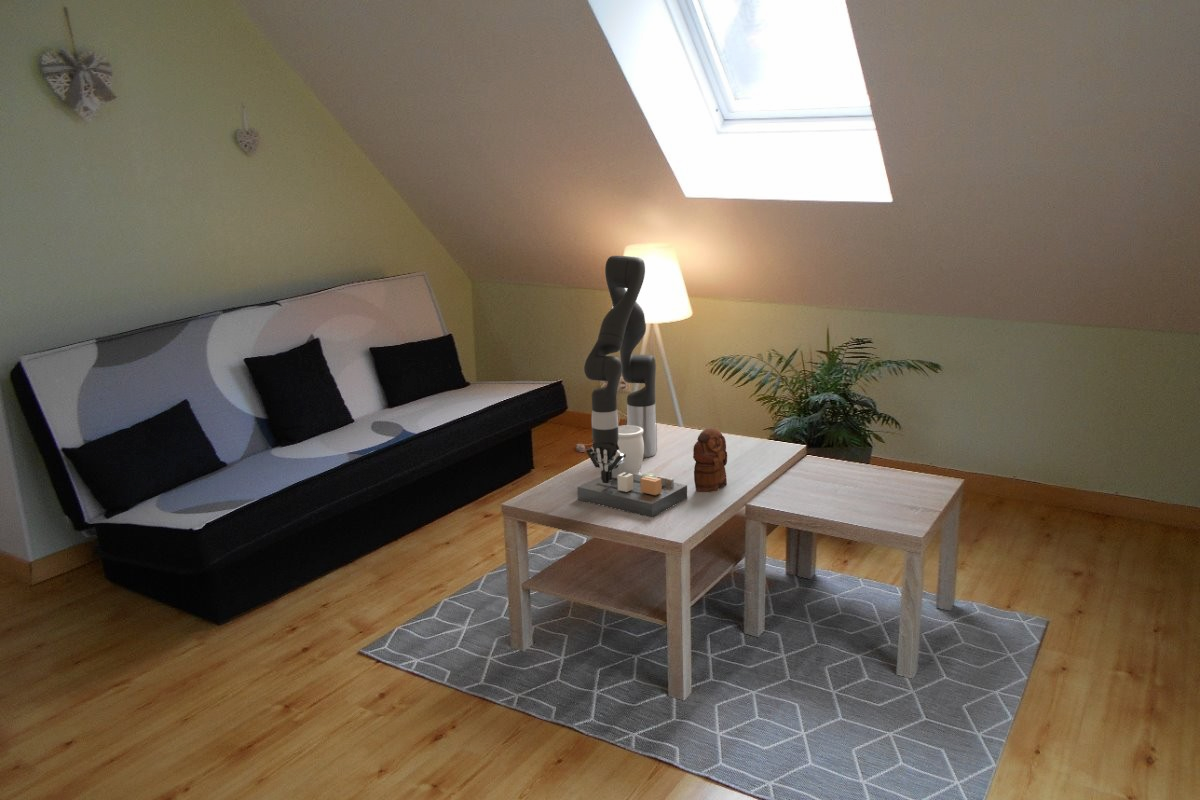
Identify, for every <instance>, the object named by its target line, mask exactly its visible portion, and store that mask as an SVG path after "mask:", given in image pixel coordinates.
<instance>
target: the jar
mask: <svg viewBox="0 0 1200 800" xmlns="http://www.w3.org/2000/svg"><path fill="white" fill-rule="evenodd" d="M642 434H643V428H641V427H639V426H632V425H628V424H626V425H618V437H619V439H618V446H619V451H620V452H621V453H622V454H623V453H624V454H626V457H625V458H624V460H623V461H624V462H625V472H626V473H631V474H636V475H641V476H642V473H641V472H640V471H641V469H642V465H643V462H644V460H643V459H644V457H643V454H644V443H643V437H642ZM615 457H616V455H615ZM615 457H614V461H615Z"/></svg>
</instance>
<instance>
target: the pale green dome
mask: <svg viewBox="0 0 1200 800" xmlns="http://www.w3.org/2000/svg"><path fill="white" fill-rule="evenodd" d="M641 476H642V478H643V477H645V476H651V477H655V478H657V475H656V473H654V472H653V473H652V472H645V473H641Z"/></svg>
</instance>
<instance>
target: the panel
mask: <svg viewBox="0 0 1200 800" xmlns="http://www.w3.org/2000/svg"><path fill="white" fill-rule="evenodd" d="M625 473H626V472H625ZM630 474H631V473H630ZM641 478H642V474H641V475H636V474H633V489H632V490H630V491H628V492H625V491H620V490H618V479H617V478H613V477H612V481H611V482H610V483H603V482H602V479H601V475H599V476H598V477H595V478H594V479H591V480H589V481H586V482H585V483H583V484H581V485H579V486H577V487H576V490H577V491H576V492H577V501H580V502H585V503H589V502H590V503H589V504H593V503H595V504H594V505H597V504H600V505H599V506H601V505H604V506H603V507H606V506H608V507H607V508H610V507H612V508H611V509H614V508H616V509H615V510H618V509H620V510H619V511H622V510H624V511H623V512H627V511H628V513H631V512H632V514H635V515H639V514H640V516H643V515H644V517H648V518H652V517H653V518H654V517H656V516H657V514H658V515H659V513H660V514H661V512H662V513H664V512H665V511H667V510H669V509H670V507H671V508H673V507H674V506H676V505H678V504H680V503H682V502H683V501H685V500H687V499H688V485H687V484H682V483H678V482H675V480H674V478H671V477H666V476H661V475H657V476H656V478H660V479H661V485H662V492H661V493H659V494H657V495H652V494H647V493H643V492H641ZM681 501H682V502H681ZM679 502H680V503H679ZM677 503H678V504H677ZM675 504H676V505H675ZM673 505H674V506H673ZM668 508H669V509H668ZM666 509H667V510H666Z"/></svg>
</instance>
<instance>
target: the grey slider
mask: <svg viewBox="0 0 1200 800" xmlns="http://www.w3.org/2000/svg"><path fill="white" fill-rule="evenodd" d="M623 472H625V462H624V461H622V462H621V464H620V465H619V466H618V468H616V469H614V470H612V477H613V478H617V479H618V477H617V475H619V474H621V473H623Z"/></svg>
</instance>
